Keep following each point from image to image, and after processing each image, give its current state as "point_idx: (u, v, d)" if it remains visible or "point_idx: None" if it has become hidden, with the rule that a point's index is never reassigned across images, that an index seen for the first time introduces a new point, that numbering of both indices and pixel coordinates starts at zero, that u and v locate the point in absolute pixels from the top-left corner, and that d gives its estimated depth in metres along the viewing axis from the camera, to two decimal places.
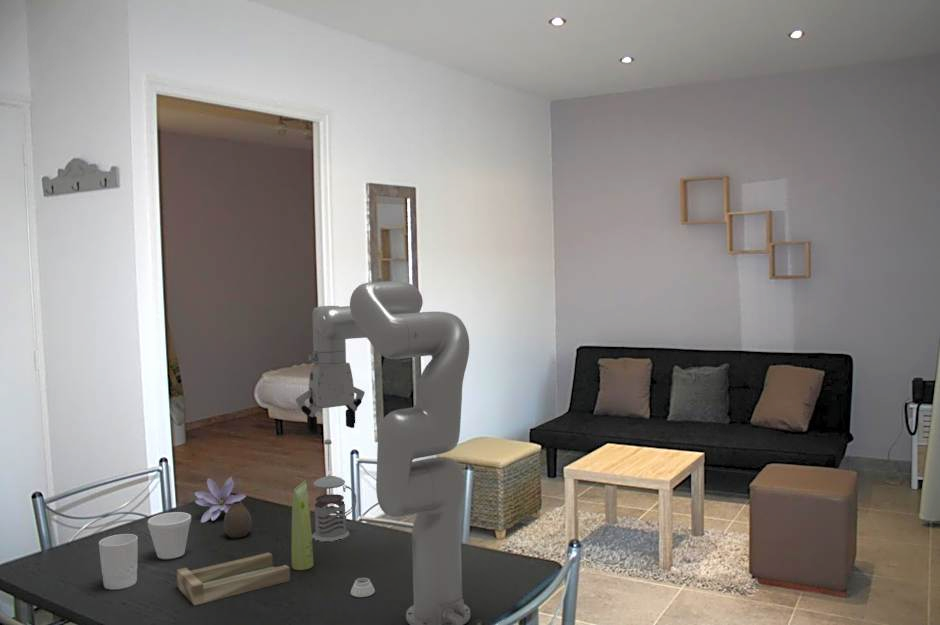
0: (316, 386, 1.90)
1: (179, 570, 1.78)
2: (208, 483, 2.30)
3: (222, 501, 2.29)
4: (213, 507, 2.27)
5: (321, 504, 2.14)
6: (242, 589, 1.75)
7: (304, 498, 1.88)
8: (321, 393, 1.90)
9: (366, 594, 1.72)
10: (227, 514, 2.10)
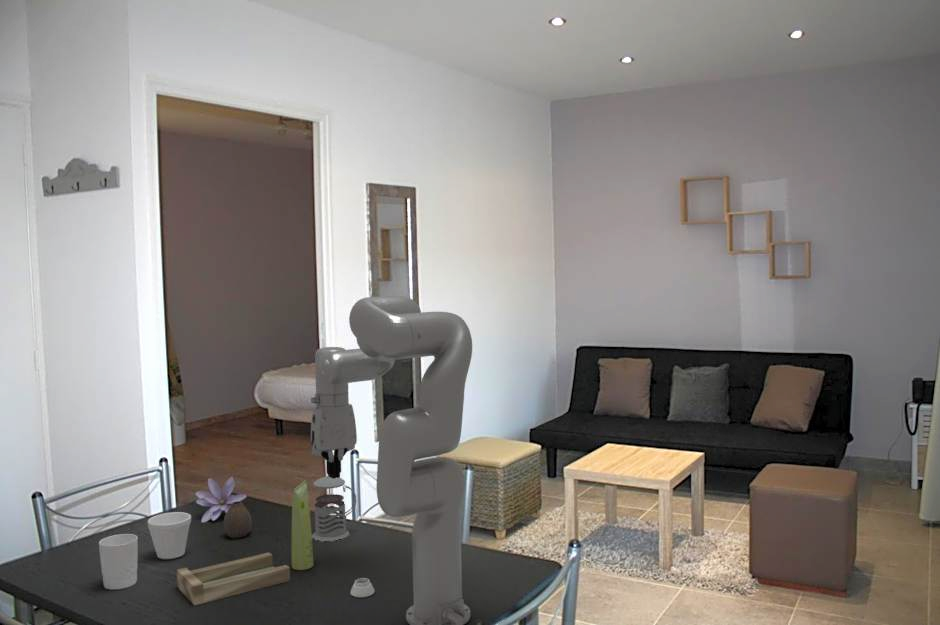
0: (318, 429, 1.88)
1: (179, 570, 1.78)
2: (209, 483, 2.30)
3: (223, 501, 2.29)
4: (214, 507, 2.27)
5: (321, 504, 2.14)
6: (242, 589, 1.75)
7: (304, 498, 1.88)
8: (323, 436, 1.89)
9: (366, 594, 1.72)
10: (227, 514, 2.10)
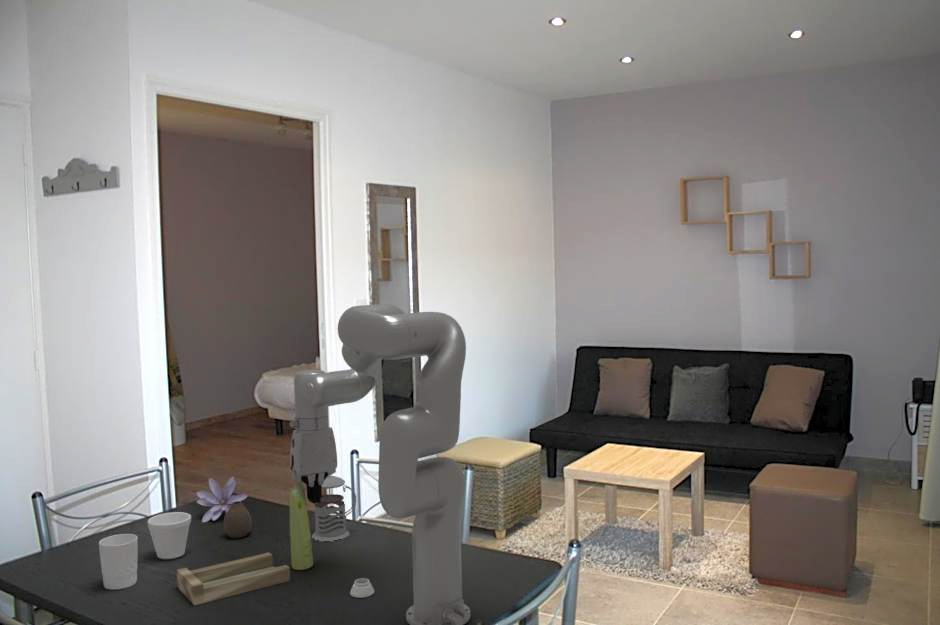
0: (297, 453, 1.85)
1: (179, 570, 1.78)
2: (209, 483, 2.30)
3: (223, 501, 2.29)
4: (214, 507, 2.27)
5: (321, 504, 2.14)
6: (242, 589, 1.75)
7: (301, 498, 1.88)
8: (303, 461, 1.86)
9: (365, 594, 1.72)
10: (227, 514, 2.10)
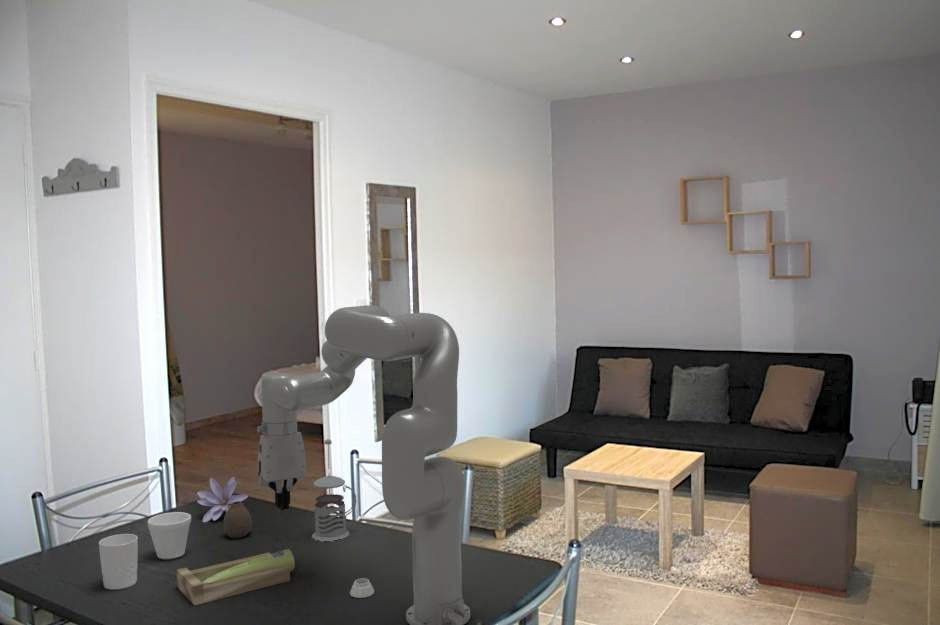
0: (265, 459, 1.81)
1: (179, 570, 1.78)
2: (210, 483, 2.30)
3: (224, 501, 2.29)
4: (215, 507, 2.27)
5: (321, 504, 2.14)
6: (242, 589, 1.75)
7: None
8: (270, 466, 1.81)
9: (365, 595, 1.71)
10: (227, 514, 2.10)
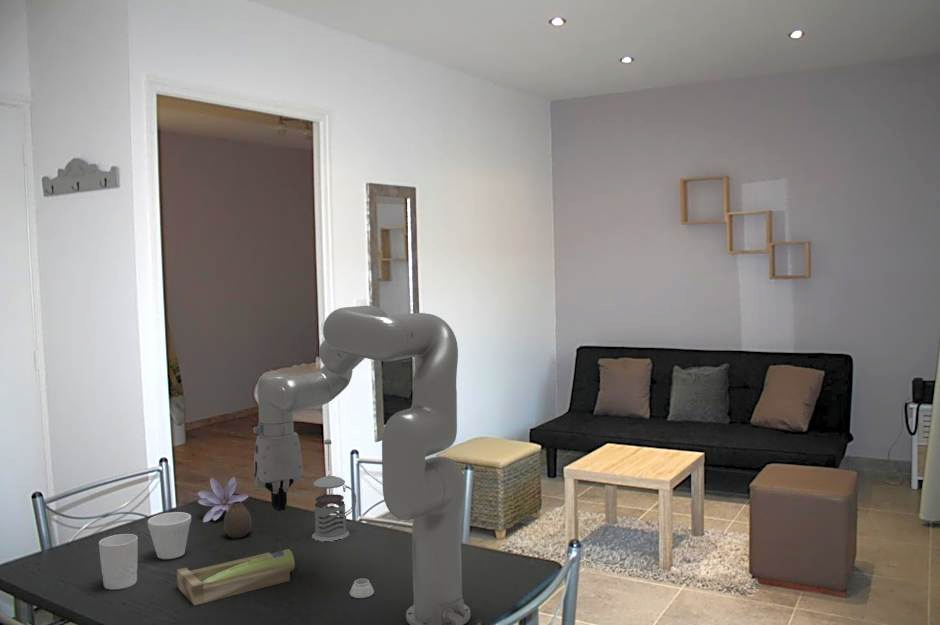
0: (261, 460, 1.80)
1: (179, 570, 1.78)
2: (211, 483, 2.30)
3: (225, 501, 2.29)
4: (215, 507, 2.27)
5: (321, 504, 2.14)
6: (242, 589, 1.75)
7: None
8: (266, 467, 1.81)
9: (365, 595, 1.71)
10: (227, 514, 2.10)
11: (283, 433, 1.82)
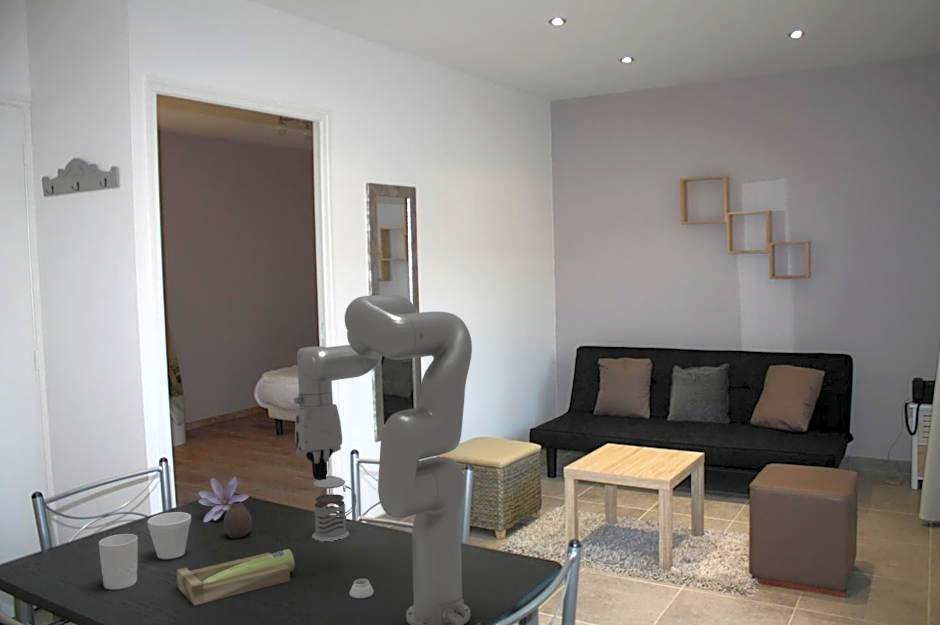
0: (302, 429, 1.85)
1: (179, 570, 1.78)
2: (212, 483, 2.30)
3: (225, 501, 2.29)
4: (216, 507, 2.27)
5: (321, 504, 2.14)
6: (242, 589, 1.75)
7: None
8: (308, 437, 1.86)
9: (365, 595, 1.71)
10: (227, 514, 2.10)
11: (323, 403, 1.87)
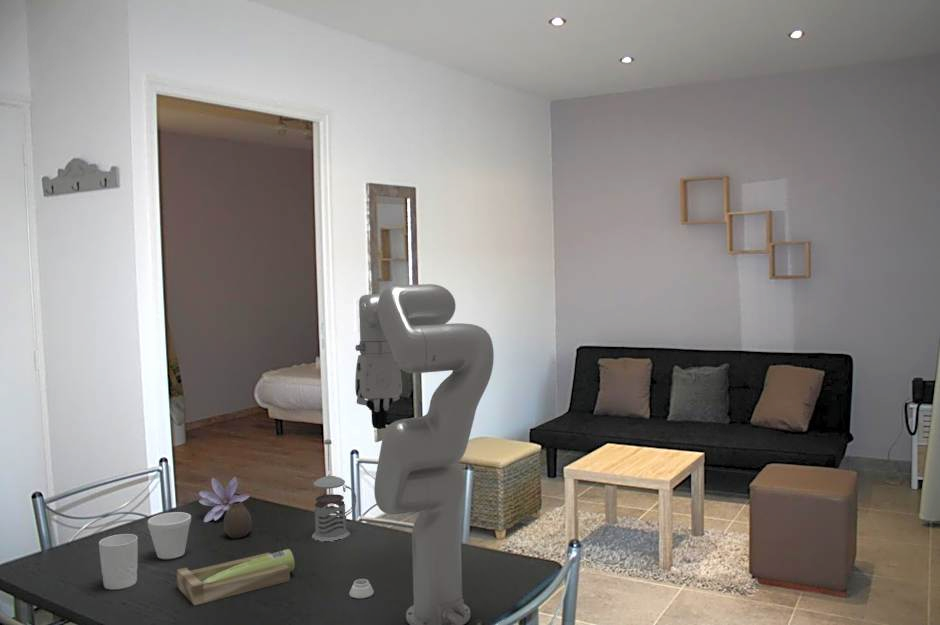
0: (364, 377, 1.83)
1: (179, 570, 1.78)
2: (212, 483, 2.30)
3: (226, 501, 2.29)
4: (216, 507, 2.27)
5: (321, 504, 2.14)
6: (242, 589, 1.75)
7: None
8: (369, 384, 1.84)
9: (365, 595, 1.71)
10: (227, 514, 2.10)
11: (385, 351, 1.85)
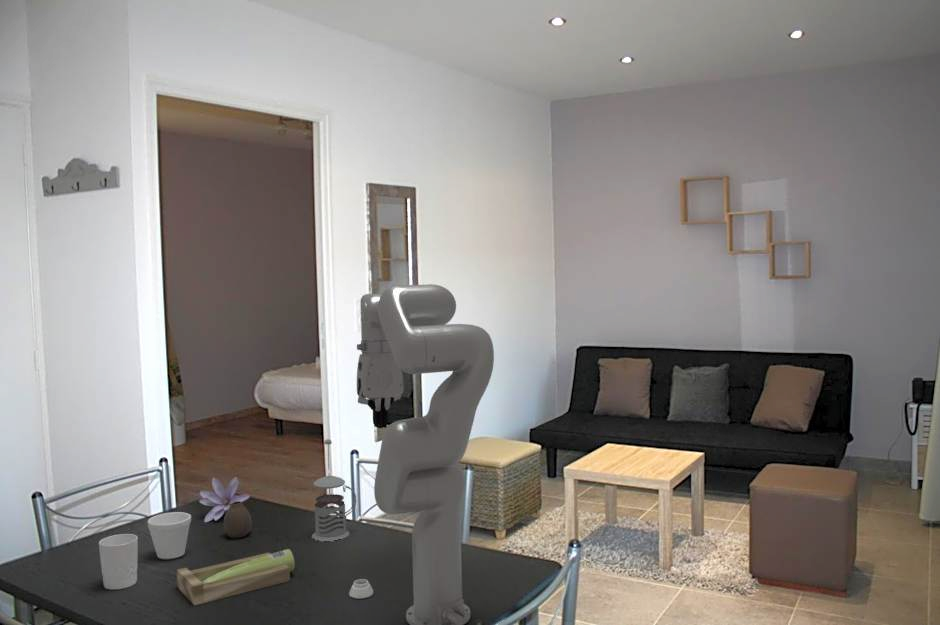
0: (365, 376, 1.83)
1: (179, 570, 1.78)
2: (213, 483, 2.30)
3: (226, 501, 2.29)
4: (217, 507, 2.27)
5: (321, 504, 2.14)
6: (242, 589, 1.75)
7: None
8: (370, 383, 1.84)
9: (365, 595, 1.71)
10: (227, 514, 2.10)
11: (386, 350, 1.85)
